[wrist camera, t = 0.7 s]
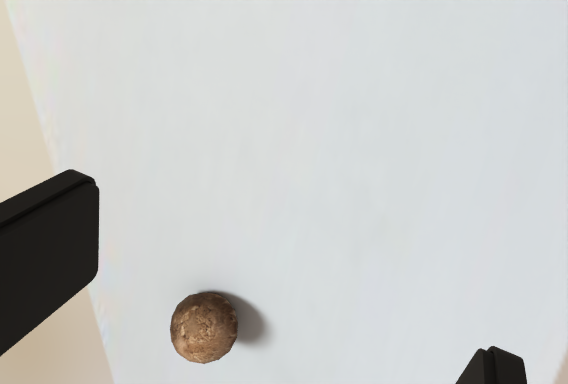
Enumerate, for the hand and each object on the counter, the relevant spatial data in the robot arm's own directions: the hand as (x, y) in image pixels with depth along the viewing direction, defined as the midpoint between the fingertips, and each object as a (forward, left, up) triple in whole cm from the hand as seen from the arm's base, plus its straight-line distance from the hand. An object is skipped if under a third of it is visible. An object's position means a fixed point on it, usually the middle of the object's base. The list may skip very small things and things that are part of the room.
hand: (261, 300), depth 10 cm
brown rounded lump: (+32, -10, -29) cm, 44 cm away
